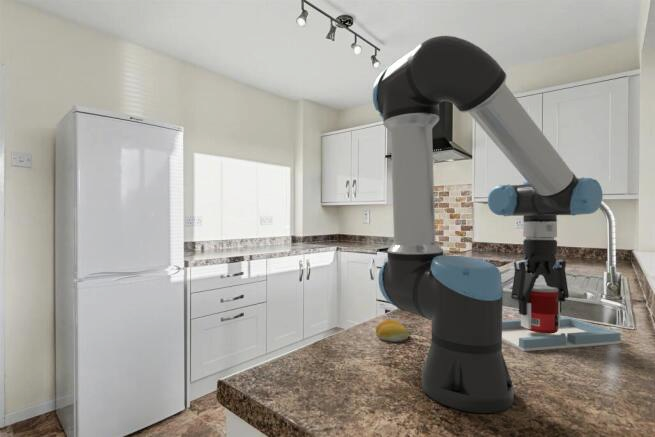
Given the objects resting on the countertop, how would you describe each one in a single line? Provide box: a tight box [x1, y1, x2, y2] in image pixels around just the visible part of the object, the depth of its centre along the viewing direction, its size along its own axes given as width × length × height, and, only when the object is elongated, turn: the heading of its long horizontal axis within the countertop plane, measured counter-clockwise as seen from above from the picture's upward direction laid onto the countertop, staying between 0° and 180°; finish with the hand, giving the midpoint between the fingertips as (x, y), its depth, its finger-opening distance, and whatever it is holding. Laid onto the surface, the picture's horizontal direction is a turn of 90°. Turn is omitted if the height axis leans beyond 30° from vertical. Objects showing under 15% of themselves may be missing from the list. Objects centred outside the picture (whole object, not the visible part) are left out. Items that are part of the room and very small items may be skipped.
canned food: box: [524, 283, 558, 333], centre depth 91 cm, size 8×8×11 cm
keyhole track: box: [502, 316, 622, 352], centre depth 91 cm, size 28×15×3 cm, turn 101°
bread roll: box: [375, 319, 409, 343], centre depth 91 cm, size 8×9×4 cm
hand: (540, 326), depth 91 cm, fingers closed on canned food, 8 cm apart
